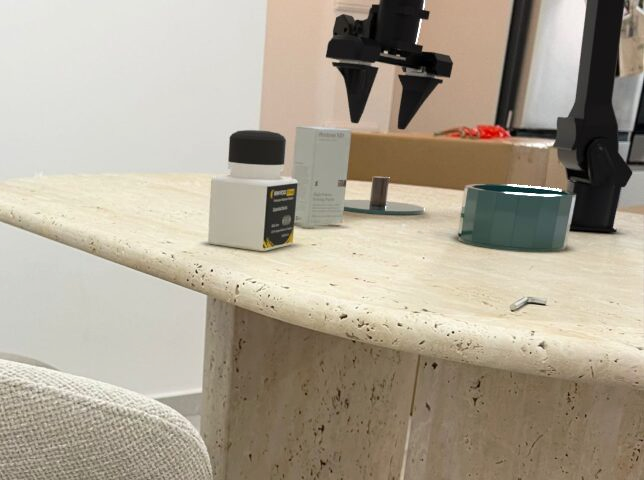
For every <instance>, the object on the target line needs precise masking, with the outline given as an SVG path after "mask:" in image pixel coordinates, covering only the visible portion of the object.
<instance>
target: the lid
mask: <svg viewBox="0 0 644 480" xmlns="http://www.w3.org/2000/svg"><path fill="white" fill-rule="evenodd" d="M389 184H390V177H388V176H381V175H380V176H375V175H374V176H372V180H371V187H370V188H371V189H370V197H369V199H345V201H344V211H348V212H354V213H360V214H361V213H364V214H374V215H388V216H389V215H390V216H391V215H392V216H393V215H394V216H409V215H410V216H411V215H412V216H413V215H421V214H424V213H425V212H426V211H425V208H424V207H423V206H420V205H417V204H410V203H405V202H397V201H387V200H388V193H389V192H388V191H389Z"/></svg>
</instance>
